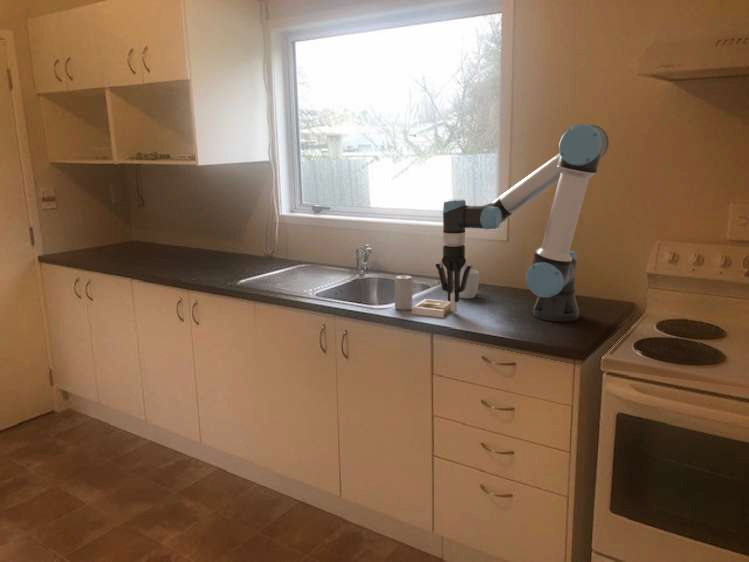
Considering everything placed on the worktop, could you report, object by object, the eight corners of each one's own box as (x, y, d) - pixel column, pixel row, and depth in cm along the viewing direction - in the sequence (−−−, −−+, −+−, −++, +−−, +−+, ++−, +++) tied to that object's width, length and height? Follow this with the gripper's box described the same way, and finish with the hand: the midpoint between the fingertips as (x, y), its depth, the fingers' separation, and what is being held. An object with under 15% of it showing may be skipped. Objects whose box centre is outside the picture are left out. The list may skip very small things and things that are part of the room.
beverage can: (411, 306, 229) (411, 274, 226) (413, 311, 223) (413, 278, 220) (394, 306, 229) (394, 275, 226) (395, 311, 223) (395, 278, 220)
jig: (454, 308, 225) (454, 302, 225) (443, 317, 214) (443, 310, 214) (424, 305, 230) (425, 299, 229) (412, 314, 219) (412, 307, 218)
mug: (470, 300, 236) (471, 275, 234) (450, 297, 242) (450, 272, 239) (486, 294, 246) (487, 269, 244) (467, 291, 251) (467, 266, 249)
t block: (451, 309, 224) (451, 301, 223) (443, 316, 216) (443, 307, 215) (428, 307, 228) (428, 299, 227) (419, 313, 220) (419, 305, 219)
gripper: (475, 243, 214) (474, 309, 219) (439, 241, 220) (439, 306, 225) (469, 247, 207) (468, 314, 213) (432, 245, 213) (432, 311, 218)
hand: (453, 310), depth 219 cm, fingers closed
